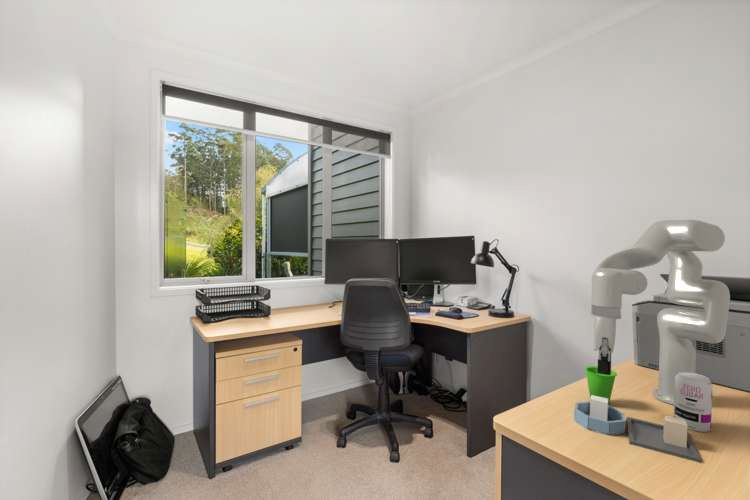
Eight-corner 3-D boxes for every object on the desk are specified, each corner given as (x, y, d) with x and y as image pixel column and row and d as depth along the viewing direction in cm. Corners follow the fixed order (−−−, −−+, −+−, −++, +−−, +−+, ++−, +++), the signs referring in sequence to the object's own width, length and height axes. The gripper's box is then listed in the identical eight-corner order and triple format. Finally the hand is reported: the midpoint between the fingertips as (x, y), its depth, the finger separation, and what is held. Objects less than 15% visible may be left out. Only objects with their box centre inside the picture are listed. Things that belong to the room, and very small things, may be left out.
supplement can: (701, 422, 107) (703, 373, 107) (717, 436, 99) (719, 383, 99) (668, 417, 110) (670, 369, 109) (681, 430, 102) (683, 379, 102)
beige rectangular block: (663, 436, 98) (663, 415, 98) (684, 441, 95) (684, 419, 95) (664, 442, 95) (665, 420, 95) (686, 448, 92) (687, 425, 92)
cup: (621, 411, 113) (622, 377, 113) (590, 408, 115) (591, 374, 115) (608, 399, 122) (609, 367, 122) (579, 396, 124) (580, 365, 124)
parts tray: (626, 420, 107) (626, 416, 107) (687, 434, 100) (687, 430, 100) (629, 445, 94) (629, 440, 94) (699, 464, 86) (700, 459, 86)
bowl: (576, 410, 113) (576, 398, 113) (623, 422, 106) (623, 408, 106) (573, 427, 103) (573, 413, 103) (625, 441, 96) (625, 426, 96)
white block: (590, 414, 109) (591, 394, 109) (607, 418, 107) (608, 398, 107) (589, 418, 106) (590, 398, 106) (607, 423, 104) (607, 402, 104)
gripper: (592, 306, 114) (591, 358, 115) (589, 315, 100) (588, 375, 100) (620, 309, 110) (619, 363, 111) (622, 318, 96) (620, 381, 96)
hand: (604, 368), depth 106 cm, fingers open, 9 cm apart
